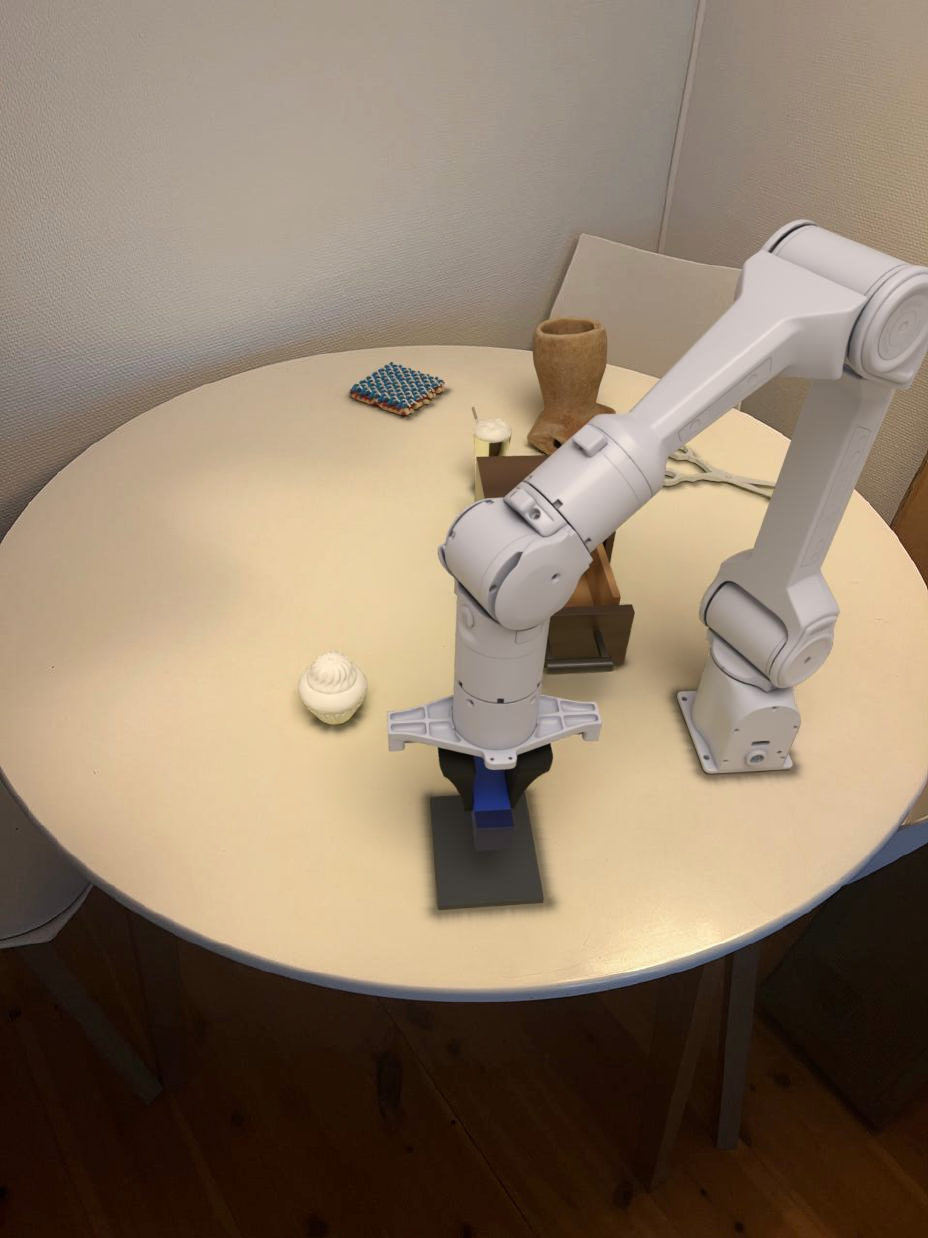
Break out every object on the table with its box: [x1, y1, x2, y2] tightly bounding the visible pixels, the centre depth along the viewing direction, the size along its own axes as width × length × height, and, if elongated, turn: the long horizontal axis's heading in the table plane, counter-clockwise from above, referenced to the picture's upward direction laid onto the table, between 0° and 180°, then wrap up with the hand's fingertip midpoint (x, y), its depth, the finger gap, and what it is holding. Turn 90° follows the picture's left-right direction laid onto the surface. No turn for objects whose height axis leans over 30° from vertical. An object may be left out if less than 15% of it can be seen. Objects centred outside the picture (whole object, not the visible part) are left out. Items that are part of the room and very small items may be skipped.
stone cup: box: [526, 316, 617, 455], centre depth 114 cm, size 15×12×15 cm
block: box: [471, 756, 514, 851], centre depth 65 cm, size 3×7×3 cm, turn 5°
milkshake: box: [471, 406, 513, 476], centre depth 106 cm, size 4×5×10 cm
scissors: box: [663, 444, 776, 498], centre depth 111 cm, size 11×1×20 cm
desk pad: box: [429, 791, 545, 911], centre depth 70 cm, size 10×8×1 cm
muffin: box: [297, 650, 369, 726], centre depth 78 cm, size 6×6×7 cm
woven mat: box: [348, 361, 446, 416], centre depth 125 cm, size 10×11×2 cm
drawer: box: [543, 543, 636, 676], centre depth 86 cm, size 18×11×7 cm, turn 5°
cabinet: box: [473, 454, 617, 564], centre depth 96 cm, size 15×13×9 cm
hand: (487, 799), depth 66 cm, fingers closed on block, 2 cm apart
